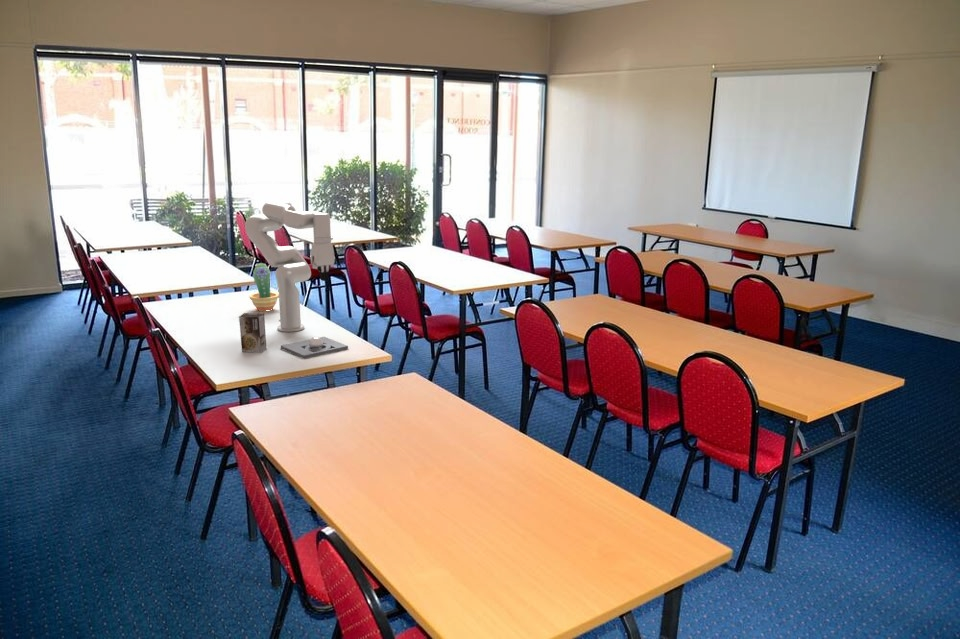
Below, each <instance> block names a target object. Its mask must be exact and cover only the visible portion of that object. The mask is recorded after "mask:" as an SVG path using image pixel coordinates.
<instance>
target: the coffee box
mask: <svg viewBox="0 0 960 639" xmlns="http://www.w3.org/2000/svg"><path fill="white" fill-rule="evenodd" d="M238 320H239V321H238V322H239V331H240V334H239V335H240V344H241V346H240V347H241V353H263V352H264V351H265V350H267V337H266V325H265V313H263V312H259V313H258V312H257V313H255V312H244V313H242V314H241V315H240V316H238Z"/></svg>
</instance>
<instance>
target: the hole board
mask: <svg viewBox="0 0 960 639" xmlns="http://www.w3.org/2000/svg"><path fill="white" fill-rule="evenodd" d="M319 338H321V339H322V341H323V346H322V348H321V349H311V348H310V346H309V341H310V340H311V339H312V338H309V339H305V340H302V341H301V340H299V341H295V342H290V343H286V344H282V345H280V350H283V351H286V352H288V353H290V354H291V355H294V356H296V357H299V358H301V359H303V360H305V359H311V358H315V357H319V356H325V355H328V354H332V353H337V352H341V351H347V350H349V345H348V344H344V343H341V342H339V341H337V340H334V339H331V338H329V337H326V336H321V337H319Z"/></svg>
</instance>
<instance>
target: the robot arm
mask: <svg viewBox="0 0 960 639" xmlns="http://www.w3.org/2000/svg"><path fill="white" fill-rule="evenodd" d="M284 225H285V226H286V227H288V228H291V229H296V230H304V229H313V243H312V245H311V249H310V264H311V265H312V269H315V270H317V271H318V272H319V278H320V281H322V282H325V281H328V277H329V275H328V273H329V270H330V269H331V268H333V267H334V266H335V260H336V259H335V250H334V246H333V242H332V241H333V240H334V237H333V236H332V235H331V216H330V213H328V212H320V211H317V210H309V211H300V212H299V211H296V208H295V207H294V206H293V205H292V203H291V202H290V201H288V200H284V199H281V200H272V201H267V202H265V203H264V204H263V206H262V214H254V215H251V216H249V217H248V218H247V219H246V221H245V224H244V227H245V229H244V230H245V233H246V236H247V237H248V238H249V240H250V242H252V243H253V245H254V246H256V248H257V249H258V250H259V251H260V253H261V255H262V256H263V257H264V259H265V261H267V263H268V264H269V265H270V266H271V267H273V268H276V270H275V280H276V284H277V289H278V294H279V298H278V302H279V319H278V322H280V325H278V326H277V330H278V331H279V332H284V333H285V332H286V333H291V332H292V333H293V332H299V331H302V330H304V329H305V325H304V324H302V323H301V321H302V320H301V319H302V318H301V306H300V305H301V303H300V302H301V300H300V291H299V289H298V287H297V286H296V284H298V283H303V282H306V281H308V280H309V279H310V278H311V276H312V271H311V267H310V265H309V264H308V262H307V261H306V260H305V258H304V256H302V254H301V253H300V251H299V250H298V249H297V248H296V247H294V246H292V245H284V246H281V245H278V243H277V242H276V241H275V239H274V238H273V237H271V235H268V234H266V233H267V232H275V231H278V230H279V229H281V228H282V227H283V226H284Z"/></svg>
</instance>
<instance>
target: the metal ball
mask: <svg viewBox="0 0 960 639" xmlns="http://www.w3.org/2000/svg"><path fill="white" fill-rule="evenodd" d="M310 339H311V340H310ZM310 339H309V340H310V341H309V346H310V348H311V349H323V348H322V346H323V341H322V339H321V338H320V337H319V336H314V337H312V338H310Z"/></svg>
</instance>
